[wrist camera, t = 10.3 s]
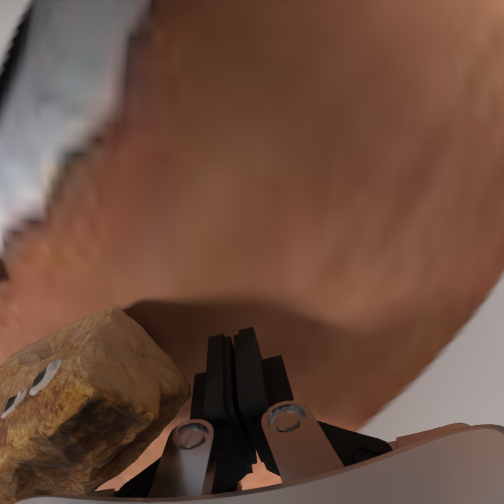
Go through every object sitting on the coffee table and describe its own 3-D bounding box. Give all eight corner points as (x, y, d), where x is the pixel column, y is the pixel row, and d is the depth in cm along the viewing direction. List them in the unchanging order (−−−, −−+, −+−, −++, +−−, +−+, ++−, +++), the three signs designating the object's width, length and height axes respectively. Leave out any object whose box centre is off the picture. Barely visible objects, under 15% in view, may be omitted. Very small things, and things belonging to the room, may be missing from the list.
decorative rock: (147, 248, 12) (18, 444, 3) (218, 352, 13) (224, 569, 4) (0, 344, 12) (-95, 463, 4) (62, 417, 14) (6, 550, 5)
